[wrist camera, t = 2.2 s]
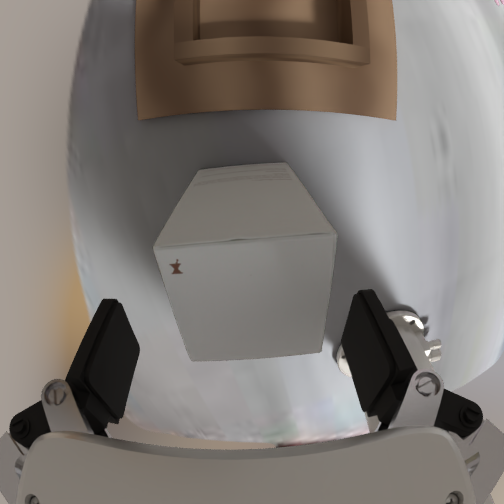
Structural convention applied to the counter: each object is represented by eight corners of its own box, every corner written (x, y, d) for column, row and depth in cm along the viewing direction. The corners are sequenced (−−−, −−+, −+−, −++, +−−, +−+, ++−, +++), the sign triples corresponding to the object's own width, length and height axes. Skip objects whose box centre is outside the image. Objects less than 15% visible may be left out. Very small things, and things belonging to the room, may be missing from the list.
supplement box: (208, 248, 25) (185, 364, 14) (197, 167, 21) (146, 243, 10) (291, 243, 25) (323, 356, 14) (290, 160, 21) (340, 230, 10)
